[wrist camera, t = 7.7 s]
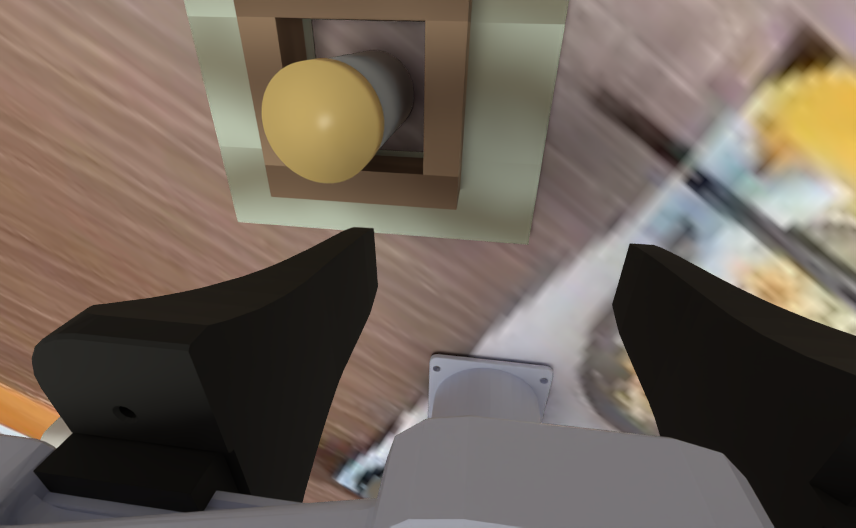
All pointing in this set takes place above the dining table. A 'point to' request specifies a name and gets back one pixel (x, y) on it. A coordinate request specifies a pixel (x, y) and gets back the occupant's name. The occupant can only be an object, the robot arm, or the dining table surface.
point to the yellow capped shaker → (335, 112)
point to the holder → (443, 115)
